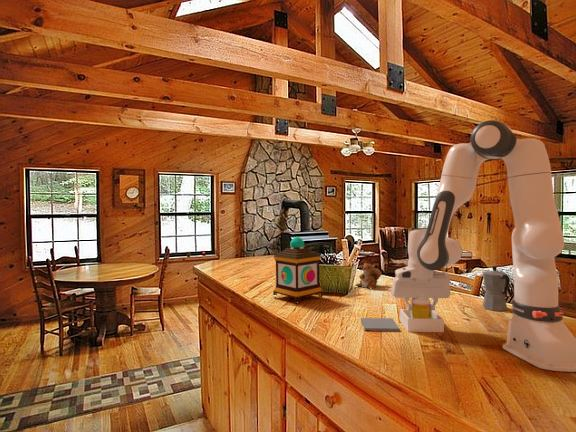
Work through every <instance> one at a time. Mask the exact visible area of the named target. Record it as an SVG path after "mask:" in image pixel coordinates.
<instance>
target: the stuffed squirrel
mask: <svg viewBox="0 0 576 432" xmlns="http://www.w3.org/2000/svg"><path fill="white" fill-rule="evenodd" d="M380 270H381V269H378V268H377V267H376V268H375V264H371V263H366V262H365V263H363V267H362V268H361V269H360V272H361V273H362V274H360V275H359V276H358V277H359V279H360V281H359V283H356V284H355V287H356V286H363V287H362V288H365V287H368V288H367V289H369V288H374V287H375V288H376V285H377V284H378V280H379V279H380V277H382V271H380ZM375 288H374V289H375Z"/></svg>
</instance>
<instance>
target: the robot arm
mask: <svg viewBox="0 0 576 432" xmlns="http://www.w3.org/2000/svg"><path fill="white" fill-rule="evenodd" d="M469 140H470V142H469V143H463V142H462V143H457V144H455V145H452V146H451V147H450V148H449V150H448V151H447V154H446V157H445V160H444V164H443V167H442V171H441V176H440V182H439V186H438V191H437V194H436V196H435V197H436V198H435V199H434V203H433V206H432V209H431V214H430V217H429V219H428V220H429V221H428V224H427V227H422V228H421V227H420V228H415V229H412V230H411V231H409V234H408V240H407V254H408V261H407V266H404V267H401V268H397V269H396V270H394V274H395V277H394V278H393V280H392V284H391V285H392V286H391V293H392V296H393V297H394V298H397V299H403V301H404V302H405V303H406V309H408V310H412V305H411V303H410V302H409V301H410V299H412V298H419V296H418V293H426V297H425V298H428V299H432V300H433V301H432V302H431V303H430V310H434V311H436V305H437V303H438V302H439V299H449V298H450V296H451V287H450V286H451V285H450V283H451V276H450V274H449V273H447V272H446V271H439V270H441V269H443V268H445V267H449V266H450V265H454V264H456V263H457V262H459V261H460V260H461V258H462V256H463V248H462V246H461V245H462V244H460V242H459V241H458V240H456V239H454V238H452V237H451V238H450V237H449V236H448V233H449V229H450V226H451V222H452V218H453V216H454V214H455V212H456V211H457V210H458V209H459V208H460V207H461V206H462V205H464V204H466V203H467V202H468V201H470V200H471V199H472V197H473V194H474V192H475V189H476V187H477V181H478V177H479V172H480V168H481V165H482V164H483V163H486V162H492V161H499V160H503V162H504V163H505V167H506V174H507V182H508V193H509V203H510V205H511V206H510V207H511V210H512V211H511V212H512V216H513V220H514V226H515V227H514V228H513V229H512V234H511V252H512V254H511V255H512V264H513V266H512V267H513V285H514V286H513V293H514V294H513V300H512V305H511V308H512V309H511V310H512V313H513V315H512V317H511V319H510V320H509V321H508V323H507V324H508V325H507V333H506V343H503V344H502V349H503V350H505V351H506V352H509V353H510V354H512V355H514V356H516V357H518V358H520V359H521V360H523V361H526V362H527V363H529V364H531V365H533V366H535V367H536V368H539V369H543V370H547V371H556V372H569V373H570V372H571V373H574V372H576V337H575V336H574V335H573V333H572V332H571V331H570V330H569V328H568V327H567V325H566V324H565V322H564V321H563V319H564V318H563V317H565V315H563V314H565V312H563V311H562V310H561V306H560V305H559V277H558V273H557V267H556V266H557V265H556V259H555V258H556V257H557V256H558V255H560V254H561V253H562V251H563V249H564V247H565V238H564V235H563V230H562V225H561V224H562V223H561V220H560V215H559V212H558V209H557V206H556V200H555V194H554V187H553V185H554V184H553V178H552V168H551V167H552V166H551V163H550V162H551V161H550V158H549V154H548V151H547V149H546V145H545V143H544V142H543V141H541V140H540V139H537V138H531V137H527V138H517V136H516V134H515V133H514V132H513V130H512V128H511V127H509V126H508V125H507V124H505V123H504V122H502V121H499V120H497V119H496V120H493V119H491V120H486V121H483V122H480V123H479V124H477V126H475V127H474V128H473V130H472V132H471V135H470V139H469Z"/></svg>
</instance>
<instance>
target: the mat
mask: <svg viewBox="0 0 576 432" xmlns="http://www.w3.org/2000/svg"><path fill="white" fill-rule="evenodd" d="M360 322H361V324H363V325H362V327H363V326H364V327H363V330H364V329H365V330H378V331H377V332H401V331H400V329H401V328H400V327H399V326H398V324H397V323H396V322H395V320H394V318H392V317H386V318H385V317H361V318H360ZM365 330H364V331H365Z"/></svg>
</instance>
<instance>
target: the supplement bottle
mask: <svg viewBox="0 0 576 432" xmlns="http://www.w3.org/2000/svg"><path fill="white" fill-rule="evenodd" d="M418 296H419V298H411V300H410V302H411V303H410V304H411V305H412V310H411V318H419V319H431V311H430V304H431V300H430V298H425V297H426V293H418Z"/></svg>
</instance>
